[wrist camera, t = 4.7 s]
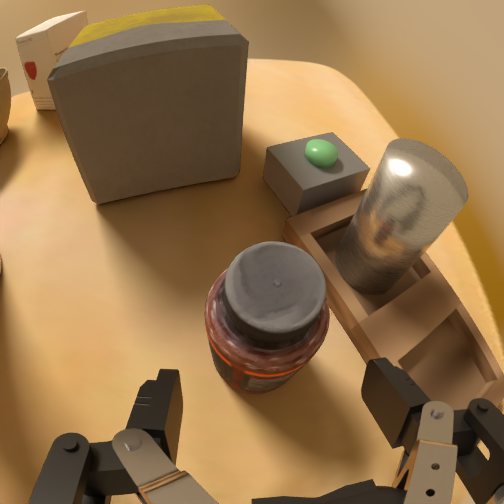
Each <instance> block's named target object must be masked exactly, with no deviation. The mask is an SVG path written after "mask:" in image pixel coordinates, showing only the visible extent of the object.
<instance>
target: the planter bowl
mask: <svg viewBox="0 0 504 504" xmlns="http://www.w3.org/2000/svg"><path fill="white" fill-rule="evenodd" d="M10 107H11V90H10V84H9V80H8V71H7V68H4V67H3V68H0V144H1V143H2V142H3V140H4V139H5V137H6V136H7V133H8V126H7V123H8V119H9V114H10Z"/></svg>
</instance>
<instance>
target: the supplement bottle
mask: <svg viewBox="0 0 504 504" xmlns="http://www.w3.org/2000/svg"><path fill="white" fill-rule="evenodd" d="M326 291H327V289H326V281H325V278H324V274H323V272H322V270H321V268H320V266H319V265H318V263H317V262H316V261H315V260H314V259H313V258H312V257H311V256H310V255H309V254H308V253H307V252H305V251H304V250H302V249H300V248H299V247H296V246H294V245H291V244H287V243H285V242H277V241H267V242H262V243H258V244H255V245H252V246H251V247H247V248H246V249H245V250H243V251H242V252H241V253H239V254H238V255H237V256H236V257H235V258H234V260H233V261H232V263H231V264H230V266H229V268H227V269H226V270H225V271H224V272H223V273H222V274H221V275H220V276H219V277H218V278H217V280H216V281H215V282H214V284H213V285H212V287H211V289H210V291H209V293H208V297H207V300H206V305H205V325H206V331H207V335H208V340H209V345H210V349H211V353H212V357H213V361H214V364H215V367H216V369H217V371H218V373H219V374H220V376H221V377H222V378H223V379H224V380H225V381H226V382H227V383H228V384H229V385H231V386H232V387H234V388H236V389H238V390H240V391H242V392H246V393H265V392H268V391H271V390H274V389H276V388H278V387H279V386H281V385H283V384H284V383H285V382H286V381H287V380H289V379H290V378H291V377H292V376H293V375H294V374H295V373H296V372H297V371H298V370H299V369H300V368H302V367H303V366H304V365H305V364H306V363H307V362H308V361H309V360H310V359H311V358H312V357H313V356H314V355H315V353H316V352H317V351H318V349H319V348H320V346H321V345H322V343H323V341H324V339H325V336H326V334H327V331H328V327H329V319H330V316H329V306H328V301H327V298H326Z"/></svg>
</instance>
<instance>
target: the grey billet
mask: <svg viewBox="0 0 504 504" xmlns="http://www.w3.org/2000/svg"><path fill="white" fill-rule="evenodd" d="M467 199H468V189H467V186H466V183H465V181H464V179H463V177H462V175H461V174H460V172H459V171H458V169H457V168H456V167H455V166H454V165H453V164H452V163H451V162H450V161H449V160H448V159H447V158H446V157H445V156H444V155H442V154H441V153H440V152H438V151H437V150H435V149H433V148H432V147H430V146H428V145H426V144H424V143H422V142H419V141H416V140H412V139H406V138H404V139H403V138H400V139H395V140H393V141H391V142H390V143H389V144H388V146H387V148H386V150H385V153H384V155H383V157H382V159H381V161H380V163H379V165H378V168H377V170H376V172H375V174H374V176H373V178H372V180H371V182H370V184H369V186H368V188H367V191H366V193H365V195H364V197H363V199H362V201H361V203H360V205H359V207H358V209H357V211H356V213H355V214H354V216H353V218H352V220H351V222H350V224H349V226H348V228H347V230H346V232H345V234H344V236H343V238H342V239H341V241H340V243H339V245H338V247H337V249H336V254H335V262H336V266H337V269H338V271H339V273H340V275H341V277H342V278H343V279H344V281H345V282H346V283H347V284H348V285H349V286H351V287H352V288H353V289H355V290H357V291H359V292H361V293H364V294H368V295H379V294H383V293H385V292H387V291H389V290H390V289H391V288H392V287H393V286H394V285H395V284H396V283H397V282H398V281H399V280H400V279H401V278H402V277H403V276H404V274H405V273H406V272H407V271H408V270H409V269H410V268H411V267H412V266H413V265H414V264H415V263H416V262H417V260H418V259H419V258H420V257H421V256H422V255H423V254H424V253H425V252H426V250H427V249H428V248H429V247H430V246H431V245H432V244H433V242H434V241H435V240H436V239H437V238H438V237H439V235H440V234H441V233H442V232H443V231H444V230H445V228H446V227H447V226H448V225H449V223H450V222H451V221H452V220H453V219H454V217H455V216H456V215H457V214H458V212H459V211H460V210H461V208H462V207H463V206H464V205H465V203H466V202H467Z"/></svg>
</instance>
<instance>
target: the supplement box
mask: <svg viewBox="0 0 504 504" xmlns="http://www.w3.org/2000/svg"><path fill="white" fill-rule="evenodd" d="M87 25H88V20H87V11H80V12H76V13H71V14H66V15H62V16H58V17H54V18H51V19H49V20H47V21H46V22H44V23H42V24H40V25H38V26H36V27H34V28H33V29H31V30H28V31H27V32H25V33H23V34H21V35H20V36H18V37H17V38H16V43H17V48H18V51H19V55H20V59H21V62H22V66H23V69H24V73H25V76H26V79H27V82H28V85H29V89H30V92H31V95H32V98H33V101H34V104H35V106H36V109H45V110H56V108H55V105H54V101H53V98H52V95H51V92H50V89H49V85H48V82H47V78H48V76H49V75H50V73H51V71H52V69H53V68H54V66H55V65H56V64H57V62H58V61H59V59H60V58H61V56H62V55H63V54H64V52H65V51H66V50H67V48H68V47H69V46H70V44H71V43H72V42H73V40H74V39H75V38H76V37H77V35H78V34H79V33H80V32H81V30H82V29H83V28H84V27H85V26H87Z"/></svg>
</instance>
